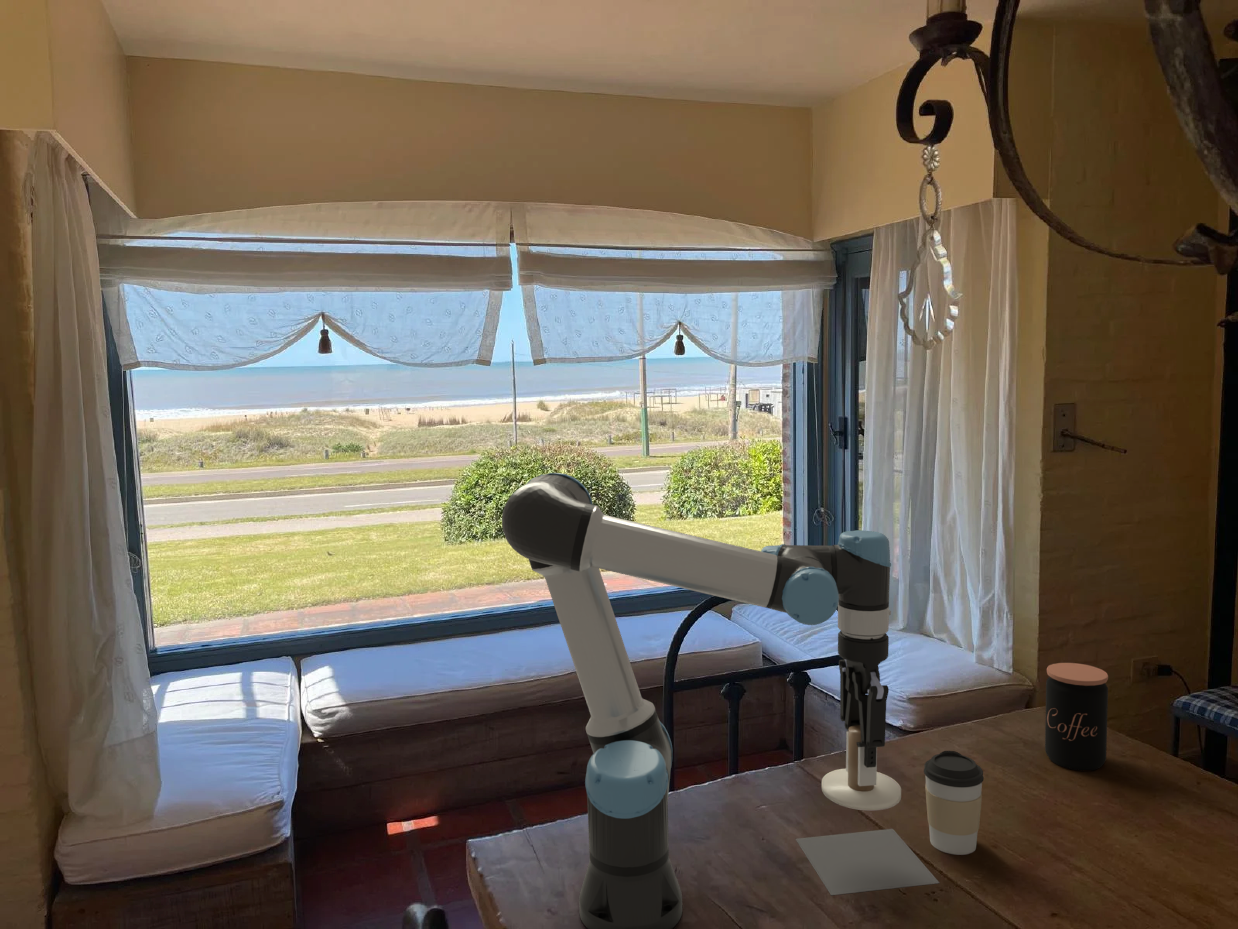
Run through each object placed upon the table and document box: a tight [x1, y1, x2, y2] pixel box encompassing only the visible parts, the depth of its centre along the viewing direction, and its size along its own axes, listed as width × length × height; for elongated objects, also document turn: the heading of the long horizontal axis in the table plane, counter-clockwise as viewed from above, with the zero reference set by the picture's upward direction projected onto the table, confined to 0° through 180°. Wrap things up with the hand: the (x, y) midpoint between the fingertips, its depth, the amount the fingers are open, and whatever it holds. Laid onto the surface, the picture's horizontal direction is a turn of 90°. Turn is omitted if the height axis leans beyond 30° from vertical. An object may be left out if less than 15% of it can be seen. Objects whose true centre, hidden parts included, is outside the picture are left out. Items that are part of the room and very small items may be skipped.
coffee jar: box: [1044, 662, 1109, 771], centre depth 171 cm, size 11×11×18 cm
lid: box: [821, 725, 902, 812], centre depth 136 cm, size 12×12×10 cm
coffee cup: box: [923, 750, 985, 856], centre depth 141 cm, size 9×9×15 cm
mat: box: [795, 828, 940, 896], centre depth 138 cm, size 17×16×1 cm
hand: (860, 777), depth 137 cm, fingers closed on lid, 4 cm apart
